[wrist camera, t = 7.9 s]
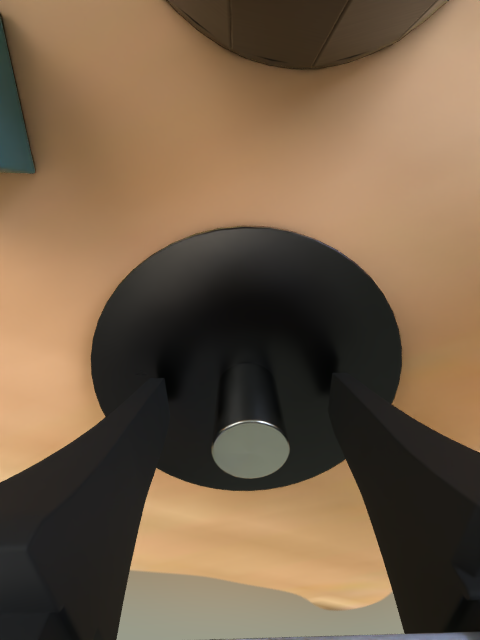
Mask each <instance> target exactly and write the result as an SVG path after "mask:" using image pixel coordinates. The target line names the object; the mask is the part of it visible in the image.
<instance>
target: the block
mask: <svg viewBox="0 0 480 640" xmlns="http://www.w3.org/2000/svg"><path fill="white" fill-rule="evenodd" d="M0 173H27V174H33V173H35V168H34V164H33V159H32V155H31V150H30V146H29V141H28V137H27V132H26V128H25V123H24V119H23V114H22V110H21V105H20V101H19V97H18V92H17V88H16V83H15V79H14V74H13V70H12V65H11V61H10V56H9V52H8V47H7V43H6V38H5V34H4V29H3V25H2V20H1V16H0Z"/></svg>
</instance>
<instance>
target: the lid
mask: <svg viewBox="0 0 480 640" xmlns="http://www.w3.org/2000/svg"><path fill="white" fill-rule="evenodd" d="M401 367H402V346H401V340H400V334H399V329H398V326H397V323H396V320H395V317H394V314H393V311H392V309H391V307H390V305H389V304H388V302H387V300H386V298H385V296H384V294H383V293H382V291H381V290H380V289H379V288H378V286H377V285H376V284H375V282H374V281H373V280H372V278H371V277H370V276H369V275H368V274H367V273H366V272H365V271H364V270H363V269H361V268H360V267H359V266H358V265H357V264H356V263H355V262H354V261H352V260H351V259H349V258H348V257H347V256H345V255H344V254H342V253H341V252H339V251H338V250H336V249H334V248H332V247H330V246H328V245H326V244H324V243H322V242H320V241H318V240H316V239H314V238H311V237H308V236H305V235H302V234H299V233H296V232H293V231H289V230H283V229H278V228H272V227H264V226H235V227H225V228H217V229H213V230H209V231H205V232H201V233H197V234H194V235H191V236H189V237H186V238H184V239H181V240H179V241H176V242H174V243H172V244H170V245H168V246H167V247H165V248H163V249H161V250H160V251H158V252H156V253H154V254H153V255H151V256H150V257H149V258H147V259H146V260H145V261H143V262H142V263H141V264H140V265H138V266H137V267H136V268H135V269H133V270H132V271H131V272H130V274H129V275H128V276H127V277H126V278H125V279H124V280H123V281H122V282H121V283H120V284H119V285H118V287H117V288H116V290H115V291H114V293H113V294H112V295H111V297H110V298H109V300H108V301H107V303H106V305H105V307H104V309H103V311H102V314H101V316H100V318H99V320H98V323H97V327H96V330H95V334H94V337H93V343H92V352H91V372H92V379H93V384H94V389H95V393H96V396H97V399H98V401H99V404H100V407H101V409H102V411H103V413H104V415H105V416H106V417H107V416H108V415H109V414H110V413H111V412H113V411H114V410H115V409H116V408H118V407H119V406H120V405H121V404H122V403H123V402H124V401H125V400H127V399H128V398H129V397H130V396H131V395H132V394H133V393H134V392H135V391H137V390H138V389H139V388H140V387H141V386H142V385H143V384H144V383H145V382H146V381H148V380H149V379H150V378H164V379H165V385H166V391H167V398H168V404H169V410H170V421H169V426H168V431H167V436H166V440H165V443H164V446H163V449H162V452H161V455H160V458H159V461H158V464H157V467H156V468H158V469H159V470H161V471H163V472H165V473H167V474H169V475H171V476H174V477H176V478H179V479H181V480H183V481H186V482H190V483H193V484H196V485H200V486H204V487H209V488H214V489H222V490H231V491H255V490H267V489H273V488H279V487H284V486H288V485H291V484H295V483H299V482H301V481H304V480H307V479H310V478H312V477H315V476H317V475H319V474H321V473H323V472H325V471H327V470H329V469H331V468H333V467H334V466H336V465H337V464H339V463H341V462H342V461H344V460H345V459H346V458H345V456H344V454H343V452H342V450H341V447H340V445H339V443H338V441H337V438H336V436H335V434H334V431H333V428H332V424H331V421H330V418H329V414H328V405H329V397H330V388H331V380H332V373H348V374H350V375H351V376H353V377H354V378H355V379H357V380H358V381H359V382H361V383H362V384H364V385H365V386H366V387H368V388H369V389H370V390H372V391H373V392H374V393H376V394H377V395H379V396H380V397H381V398H383V399H384V400H386V401H387V402H388V403H390V404H392V402H393V400H394V397H395V394H396V391H397V388H398V384H399V380H400V374H401Z"/></svg>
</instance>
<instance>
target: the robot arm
mask: <svg viewBox="0 0 480 640" xmlns="http://www.w3.org/2000/svg"><path fill="white" fill-rule="evenodd" d="M328 414H329V418H330V421H331V424H332V428H333V431H334V434H335V436H336V438H337V441H338V443H339V445H340V447H341V450H342V452H343V454H344V456H345V458H346V461H347V463H348V465H349V467H350V469H351V472H352V474H353V476H354V478H355V480H356V483H357V485H358V487H359V490H360V492H361V495H362V497H363V500H364V503H365V506H366V509H367V511H368V514H369V517H370V520H371V523H372V526H373V529H374V532H375V535H376V538H377V542H378V545H379V548H380V551H381V554H382V557H383V560H384V564H385V567H386V570H387V574H388V577H389V580H390V584H391V587H392V590H393V594H394V597H395V601H396V604H397V608H398V612H399V615H400V619H401V622H402V626H403V629H404V633H405V634H385V635H351V636H318V637H282V638H250V639H249V638H247V639H214V640H480V453H479V452H477V451H474V450H472V449H470V448H468V447H466V446H464V445H462V444H460V443H458V442H455V441H453V440H451V439H449V438H447V437H445V436H443V435H442V434H440V433H438V432H436V431H434V430H432V429H431V428H429V427H427V426H425V425H423V424H422V423H420V422H418V421H416V420H415V419H413V418H411V417H410V416H408V415H407V414H405V413H404V412H402V411H401V410H399V409H397V408H396V407H394V406H393V405H391V404H390V403H388V402H387V401H386V400H384V399H383V398H381V397H380V396H379V395H377V394H376V393H374V392H373V391H372V390H370V389H369V388H368V387H366V386H365V385H364V384H362V383H361V382H359V381H358V380H357V379H355V378H354V377H353V376H351V375H350V374H348V373H332V380H331V388H330V397H329V405H328ZM169 421H170V410H169V404H168V398H167V391H166V385H165V379H164V378H150V379H149V380H148V381H146V382H145V383H144V384H143V385H142V386H141V387H140V388H139V389H138V390H137V391H135V392H134V393H133V394H132V395H131V396H130V397H129V398H128V399H127V400H125V401H124V402H123V403H122V404H121V405H120V406H119V407H118V408H116V409H115V410H114V411H113V412H111V413H110V414H109V415H108V416H107V417H105V418H104V419H103V420H102V421H100V422H99V423H98V424H97V425H95V426H94V427H93V428H91V429H90V430H89V431H87V432H86V433H84V434H83V435H82V436H80V437H79V438H77V439H76V440H74V441H73V442H71V443H70V444H68V445H67V446H65V447H64V448H62V449H60V450H59V451H57V452H55V453H54V454H52V455H50V456H49V457H47V458H45V459H44V460H42V461H40V462H39V463H37V464H35V465H33V466H31V467H30V468H28V469H26V470H24V471H22V472H20V473H18V474H16V475H14V476H12V477H11V478H9V479H7V480H5V481H3V482H1V483H0V640H116V639H117V633H118V627H119V622H120V617H121V611H122V606H123V600H124V595H125V590H126V585H127V580H128V575H129V570H130V566H131V561H132V556H133V552H134V547H135V543H136V538H137V533H138V529H139V525H140V521H141V516H142V512H143V508H144V504H145V500H146V497H147V494H148V490H149V487H150V484H151V482H152V479H153V476H154V473H155V470H156V467H157V464H158V461H159V458H160V455H161V452H162V449H163V446H164V443H165V440H166V436H167V431H168V426H169ZM212 640H213V639H212Z"/></svg>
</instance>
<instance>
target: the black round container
mask: <svg viewBox="0 0 480 640" xmlns="http://www.w3.org/2000/svg"><path fill="white" fill-rule="evenodd" d="M167 1H168V2H169V3H170V5H171V6H172V7H173V8H174V9H175V10H176V11H177V12H178V13H180V14H181V15H182V16H183V17H184V18H185V19H186V20H187V21H188V22H189V23H191V24H192V25H193V26H194V27H195V28H196V29H197V30H199V31H200V32H202V33H203V34H204V35H206V36H207V37H209V38H210V39H212V40H213V41H215V42H216V43H218V44H219V45H220V46H222V47H224V48H226V49H228V50H230V51H233V52H235V53H237V54H239V55H241V56H243V57H245V58H248V59H251V60H254V61H258V62H261V63H264V64H267V65H271V66H278V67H286V68H294V69H304V68H323V67H328V66H333V65H338V64H343V63H348V62H351V61H353V60H356V59H359V58H362V57H364V56H367V55H370V54H372V53H375V52H377V51H378V50H380V49H382V48H384V47H386V46H389V45H392V44H393V43H395V42H398V41H399V40H400V39H402V38H403V37H404V36H405V35H407V34H408V33H409V32H410V31H412V30H413V29H414V28H416V27H417V26H419V25H420V24H421V23H423V22H424V21H426V20H427V19H428V18H429V17H430V16H431V15H432V14H433V13H434V12H436V11H437V10H438V9H439V8H440V7H441V6H442V5H444V4H445V3H446V2H447V1H449V0H167Z"/></svg>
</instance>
